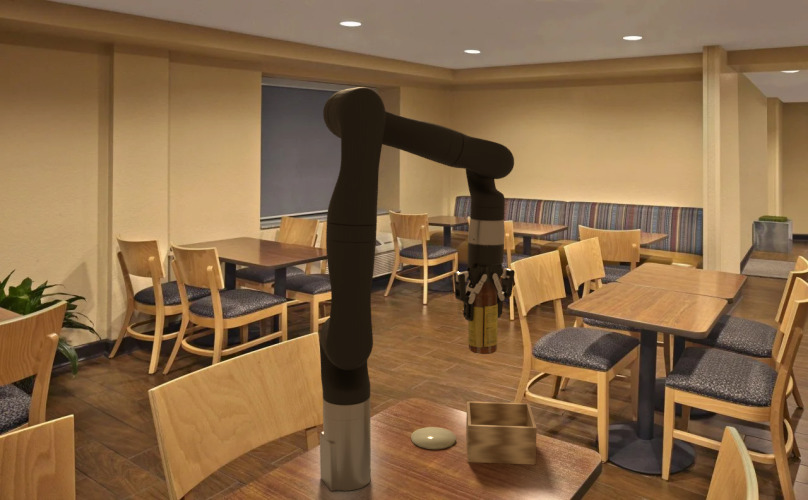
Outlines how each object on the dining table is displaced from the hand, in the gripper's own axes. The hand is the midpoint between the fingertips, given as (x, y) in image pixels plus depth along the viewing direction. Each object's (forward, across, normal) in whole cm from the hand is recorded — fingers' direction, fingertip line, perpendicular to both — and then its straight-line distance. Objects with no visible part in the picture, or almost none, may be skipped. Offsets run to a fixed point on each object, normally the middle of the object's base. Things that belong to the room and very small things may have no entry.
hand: (482, 318), depth 138 cm
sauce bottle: (+7, 0, 0) cm, 7 cm away
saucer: (+29, -7, +8) cm, 31 cm away
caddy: (+29, +4, -3) cm, 29 cm away
